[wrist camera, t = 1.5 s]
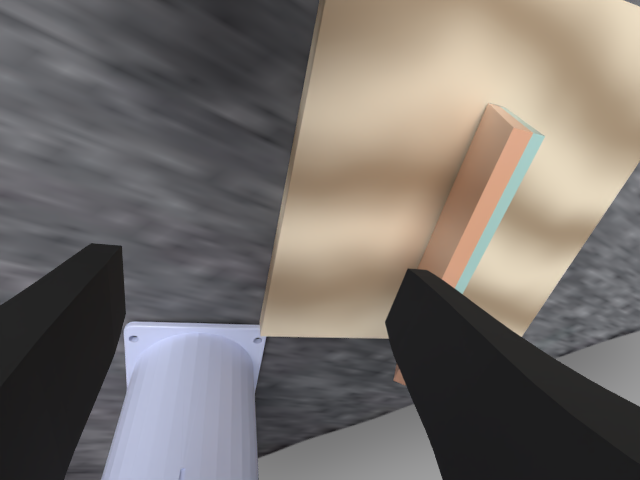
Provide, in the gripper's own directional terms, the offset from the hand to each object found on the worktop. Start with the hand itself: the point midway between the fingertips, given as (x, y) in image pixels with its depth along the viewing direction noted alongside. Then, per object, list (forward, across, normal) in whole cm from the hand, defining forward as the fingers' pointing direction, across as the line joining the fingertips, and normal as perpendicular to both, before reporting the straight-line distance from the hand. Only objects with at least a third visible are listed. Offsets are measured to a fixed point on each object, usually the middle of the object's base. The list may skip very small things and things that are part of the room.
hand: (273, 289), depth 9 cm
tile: (+5, -8, 0) cm, 9 cm away
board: (+10, -11, 0) cm, 15 cm away
